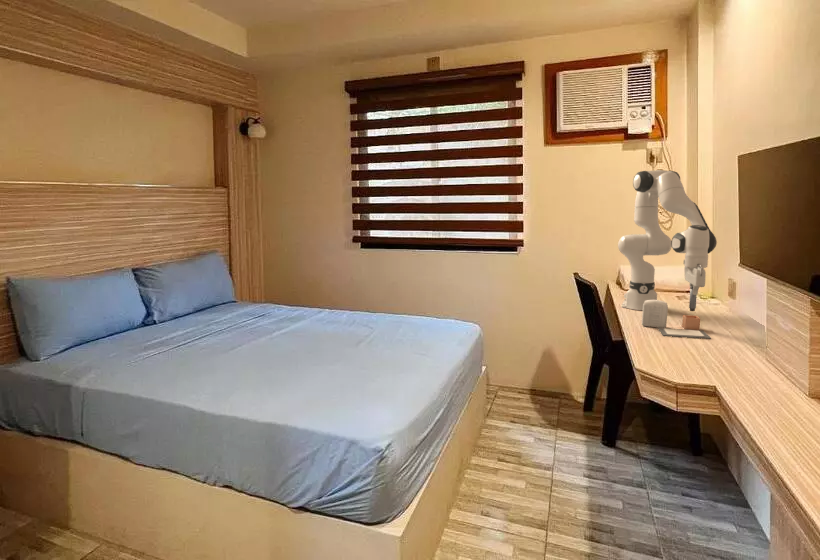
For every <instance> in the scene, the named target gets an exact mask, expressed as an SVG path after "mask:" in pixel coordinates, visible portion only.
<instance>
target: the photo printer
mask: <svg viewBox="0 0 820 560" xmlns="http://www.w3.org/2000/svg"><path fill="white" fill-rule="evenodd" d="M668 310H669V307H668V303H667V302H666V301H663V300H659V299H657V300H646V301H645V302H644V304H643V310H642V315H641V317H642V318H641V326H642V325H643V326H644V327H650V326H651V328H652V327H653V328H667V325H668V324H667V323H668Z"/></svg>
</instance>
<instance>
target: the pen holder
mask: <svg viewBox="0 0 820 560" xmlns="http://www.w3.org/2000/svg"><path fill="white" fill-rule="evenodd" d="M681 327H682V329H683V328H684V329H687V330H701V318H700V317H699V316H698V315H694V314H693V315H690V314H683V315H682V322H681Z"/></svg>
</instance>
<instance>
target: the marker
mask: <svg viewBox="0 0 820 560" xmlns="http://www.w3.org/2000/svg"><path fill="white" fill-rule="evenodd" d="M692 290H693V286H690V285H689V305H688V308H689V311H690V312H695V311H696V308H697V296H698V294H697V295H693V294H692Z"/></svg>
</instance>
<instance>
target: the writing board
mask: <svg viewBox="0 0 820 560" xmlns="http://www.w3.org/2000/svg"><path fill="white" fill-rule="evenodd" d="M658 329H659V330H658ZM657 330H658V332H659V333H660V332H661V333H660V334H661V335H662V337H665V336H672V337H671V338H682V337H687V339H699V338H700V339H701V338H702V340H703V339H704V340H711V339H712V337H711V336H710V335H709V334H708V333H706V331H704V330H703V329H700V330H687V329H683V328H669V327H666V328H659V327H657Z"/></svg>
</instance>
